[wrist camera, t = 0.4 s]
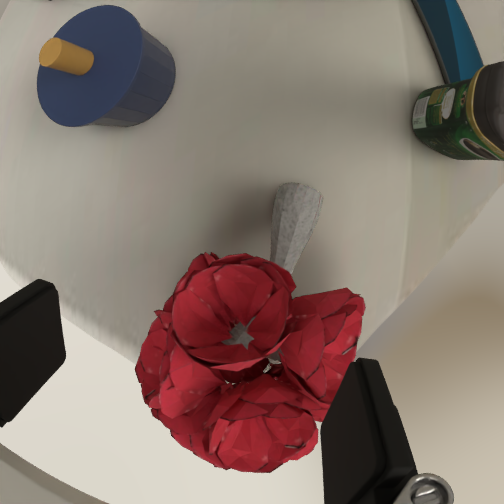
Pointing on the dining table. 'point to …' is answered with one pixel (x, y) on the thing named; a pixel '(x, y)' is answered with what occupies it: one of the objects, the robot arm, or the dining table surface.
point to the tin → (145, 87)
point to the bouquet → (250, 350)
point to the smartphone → (450, 38)
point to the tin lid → (90, 65)
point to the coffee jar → (464, 116)
